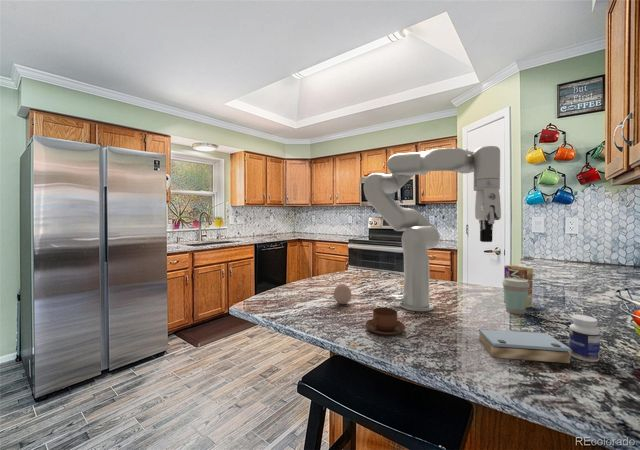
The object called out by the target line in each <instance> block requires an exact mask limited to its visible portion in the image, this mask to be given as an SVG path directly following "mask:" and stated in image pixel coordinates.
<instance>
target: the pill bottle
mask: <svg viewBox="0 0 640 450" xmlns="http://www.w3.org/2000/svg"><path fill="white" fill-rule="evenodd" d="M571 321H572V322H573V323H571V324H570V325H569V340H568V342H569V343H568V345H569V346H568V347H569V348H571V352H570V351H568V352H570V356H572V357H574V358H575V359H577V360H581V361H584V362H590V363H596V362H599V360H600V356H601V352H600V351H601V332H600V330H599V329H598V328H597V326H598V319H596V318H595V317H593V316H588V315H584V314H574V315H572V320H571Z"/></svg>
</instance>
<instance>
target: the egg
mask: <svg viewBox="0 0 640 450" xmlns="http://www.w3.org/2000/svg"><path fill="white" fill-rule="evenodd" d="M333 298H334V300H335V301H336V302H337V303H338V304H339V305H346V304H347V303H349V302H350V301H351V299H352V291H351V288H350V287H349V286H348V285H347V283H346V284H345V283H339V284H338V285H336V287H335V288H334V291H333Z"/></svg>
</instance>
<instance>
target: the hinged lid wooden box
mask: <svg viewBox="0 0 640 450" xmlns="http://www.w3.org/2000/svg"><path fill="white" fill-rule="evenodd" d="M478 336H479V337H478V338H479V339H478V341H479V343H480V344H481V345H482V346H483V347H484V348H485V350H486V352H488V353H489V355H490V356H491V357H492V358H499V359H511V360H513V359H514V360H525V361H526V360H527V361H537V362H538V361H539V362H552V363H564V364H570V363H571V355H570V352H569V351H556V350H542V349H528V348H513V347H499V346H493V345H492V344H491V343H490V342H489V341H488V340H487V339H486V338H485V337H484V336H483V335H482V334H481V333H480V332H479V331H478Z"/></svg>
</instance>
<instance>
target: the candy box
mask: <svg viewBox="0 0 640 450" xmlns="http://www.w3.org/2000/svg"><path fill="white" fill-rule="evenodd" d="M503 268H504V270H503V271H504V272H503V273H504V274H503V275H504V277H503V279H504V278H521V279H525V280H528V283H529V286H530V287H529V289H528V296H527V302H526V309H528V308H533V285H534V284H533V282H534V281H533V280H534V279H533V278H534V273H533V271H534V269H533V267H526V266H519V265H513V264H507V265H504V267H503ZM503 302H504V304H505V297H504V296H503Z"/></svg>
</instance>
